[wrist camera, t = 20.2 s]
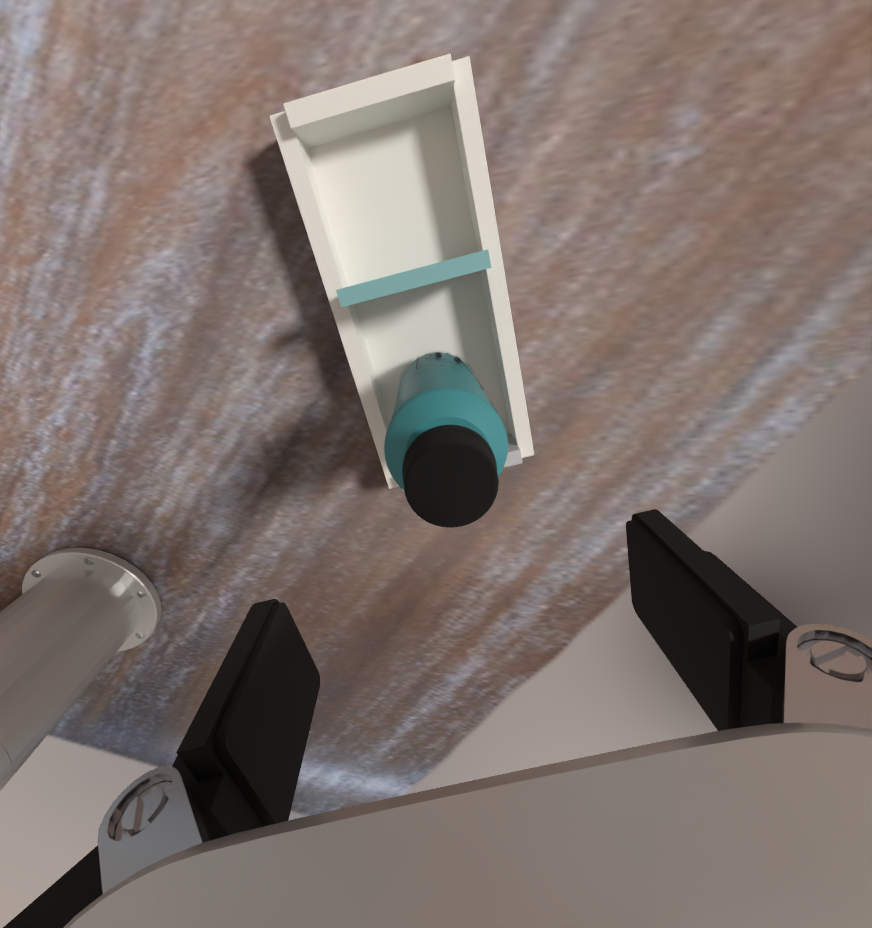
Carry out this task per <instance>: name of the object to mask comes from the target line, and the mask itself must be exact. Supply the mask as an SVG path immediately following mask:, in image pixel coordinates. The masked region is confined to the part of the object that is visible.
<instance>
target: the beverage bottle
mask: <svg viewBox="0 0 872 928" xmlns="http://www.w3.org/2000/svg"><path fill="white" fill-rule="evenodd" d="M463 361H464V359H463ZM463 361H462V360H461V358H459V357H457V355H456V357H455V355H454V356H453V355H451V354H449V353H448V352H447V353H443V352H442V351H440V352H439V351H437V352H435V351H434V353H429V352H428V354H426V353H425V355H423V356H421V357H419V358H417V359H416V360H414V361H413V362H412V363H410V365H409V366H408V367H406V369H405V368H404V369H405V372H404V373H403V375H402V378H401V381H400V385H399V389H398V394H397V398H396V404H395V408H394V411H393V415H392V419H391V421H390V424H389V426H388V429H387V432H386V436H385V442H384V453H385V460H386V464H387V467H388V470H389V472H390V474H391V476H392V477H393V479H394V480H395V482H396V483H397V484H398V485H399V486H400V487H401V488H402V489H403V490H404V491H405V495H406V498H407V501H408V503H409V504H410V506H411V508H412V509H413V510H414V512H415V513H416V514H417V515H418V516H420V517H421V518H422V519H424V520H425V521H427V522H429V523H431V524H434V525H437V526H441V527H460V526H464V525H467V524H470V523H472V522H474V521H476V520H478V519H479V518H481V517H482V516H483V515H484V514H485V513H486V512H487V511H488V510H489V509H490V507H491V506H492V504H493V502H494V500H495V498H496V495H497V491H498V482H499V480H498V477H499V476H500V474H501V472H502V470H503V468H504V465H505V462H506V458H507V453H508V438H507V433H506V429H505V427H504V424H503V422H502V420H501V418H500V416H499V415H498V412H497V411H496V409H494V408H496V407H494V408H493V407H492V405H491V404H490V402H489V400H488V398H487V397H486V395H485V393H484V392H483V389H484V390H485V388H483V387H480V386H481V385H482V384H481V385H479V384H480V382H479V383H478V382H477V381H479V380H476V378H475V377H474V375H473V373H472V372H471V370H472V369H471V370H470V369H469V367H470V365H469V364H468V363H466V362H465V363H466V364H467V365H468V366H469V367H468V366H467V365H466V364H465V363H464V362H463ZM406 366H407V365H406ZM470 368H471V367H470ZM472 371H473V370H472ZM475 375H476V374H475ZM400 377H401V376H400ZM477 379H478V378H477ZM398 384H399V383H398ZM397 388H398V387H397ZM487 394H488V393H487ZM491 403H492V404H493V402H491Z"/></svg>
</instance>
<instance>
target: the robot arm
mask: <svg viewBox="0 0 872 928" xmlns="http://www.w3.org/2000/svg"><path fill="white" fill-rule="evenodd" d="M626 533H627V545H628V558H629V570H630V583H631V595H632V603H633V607H634V609H635V612H636V614H637V615H638V617H639V618H640V620H641V621H642V622H643V624H644V625H645V627H646V628H647V630H648V631H649V633H650V634H651V635H652V637H653V638H654V640H655V641H656V643H657V644H658V645H659V647H660V648H661V650H662V651H663V653H664V654H665V655H666V657H667V658H668V660H669V661H670V663H671V664H672V666H673V667H674V668H675V670H676V671H677V672H678V674H679V676H680V677H681V678H682V680H683V681H684V683H685V684H686V686H687V687H688V688H689V690H690V691H691V693H692V694H693V696H694V697H695V698H696V700H697V701H698V703H699V704H700V706H701V707H702V709H703V710H704V711H705V713H706V714H707V716H708V717H709V719H710V720H711V721H712V723H713V724H714V726H715V727H716V728H717V730H718V731H717V732H711V733H705V734H700V735H695V736H689V737H684V738H679V739H673V740H668V741H662V742H657V743H652V744H647V745H642V746H637V747H632V748H627V749H623V750H618V751H613V752H608V753H603V754H599V755H593V756H589V757H584V758H579V759H574V760H569V761H565V762H559V763H555V764H550V765H545V766H540V767H535V768H530V769H525V770H521V771H516V772H511V773H507V774H502V775H497V776H492V777H488V778H483V779H479V780H473V781H469V782H464V783H459V784H455V785H450V786H445V787H440V788H436V789H431V790H427V791H422V792H417V793H412V794H407V795H403V796H398V797H394V798H389V799H384V800H380V801H375V802H371V803H366V804H362V805H357V806H352V807H348V808H343V809H339V810H334V811H329V812H325V813H320V814H316V815H311V816H306V817H302V818H298V819H294V820H289V821H288V819H289V815H290V811H291V806H292V802H293V798H294V794H295V789H296V785H297V781H298V777H299V772H300V768H301V764H302V760H303V755H304V751H305V747H306V743H307V738H308V734H309V730H310V726H311V721H312V717H313V713H314V709H315V704H316V700H317V696H318V692H319V687H320V676H319V672H318V670H317V668H316V666H315V664H314V661H313V659H312V657H311V655H310V653H309V651H308V649H307V647H306V645H305V643H304V641H303V639H302V637H301V635H300V632H299V630H298V628H297V626H296V624H295V622H294V620H293V618H292V616H291V614H290V612H289V610H288V608H287V606H286V604H285V603H280V602H279V601H278V600H277V599H272V600H267V601H263V602H259V603H255V604H253V605H252V607H251V608H250V610H249V612H248V614H247V616H246V618H245V620H244V622H243V624H242V626H241V628H240V630H239V632H238V634H237V636H236V638H235V640H234V641H233V643H232V645H231V647H230V649H229V651H228V653H227V655H226V657H225V659H224V661H223V663H222V665H221V667H220V669H219V671H218V673H217V675H216V677H215V678H214V680H213V682H212V684H211V686H210V688H209V690H208V692H207V694H206V696H205V698H204V700H203V702H202V704H201V706H200V708H199V710H198V712H197V714H196V716H195V717H194V719H193V721H192V723H191V725H190V727H189V729H188V731H187V733H186V735H185V737H184V739H183V741H182V743H181V745H180V747H179V749H178V751H177V754H178V756H177V758H176V760H175V762H174V764H173V766H172V767H171V766H164V767H158V768H156V769H154V770H151V771H149V772H147V773H145V774H144V775H142V776H141V777H140V778H138V779H136V780H135V781H134V782H133V783H131V784H130V785H129V786H128V787H127V788H126V789H125V790H124V791H123V792H122V793H121V794H120V795H119V796H118V797H117V799H116V800H115V801H114V802H113V803H112V805H111V806H110V808H109V810H108V811H107V813H106V814H105V816H104V818H103V820H102V823H101V825H100V828H99V833H98V846H97V847H95V848H94V849H93V850H92V851H91V852H90V853H89V854H87V855H86V856H85V857H84V858H83V859H82V860H80V861H79V862H78V863H77V864H76V865H75V866H74V867H72V868H71V869H70V870H69V871H68V872H67V873H66V874H64V875H63V876H62V877H61V878H60V879H59V880H58V881H56V882H55V883H54V884H53V885H52V886H51V887H49V888H48V889H47V890H46V891H45V892H44V893H43V894H41V895H40V896H39V897H38V898H37V899H36V900H34V901H33V902H32V903H31V904H30V905H29V906H28V907H27V908H25V909H24V910H23V911H22V912H21V913H20V914H18V915H17V916H16V917H15V918H14V919H13V920H11V921H10V922H9V923H8V924H7V925H6V926H5V927H3V928H872V641H871V640H870V639H868V638H866V637H864V636H862V635H860V634H858V633H856V632H853V631H851V630H847V629H844V628H841V627H837V626H831V625H824V624H810V625H809V624H808V625H804V626H800V627H797V626H796V625H795V624H793V623H792V622H791V621H790V620H789V619H788V618H786V617H785V616H784V615H783V614H782V613H781V612H780V611H778V610H777V609H776V608H775V607H774V606H773V605H772V604H770V603H769V602H768V601H767V600H766V599H765V598H763V597H762V596H761V595H760V594H759V593H758V592H756V591H755V590H754V589H753V588H752V587H751V586H750V585H749V584H747V583H746V582H745V581H744V580H743V579H742V578H740V577H739V576H738V575H737V574H736V573H735V572H734V571H732V570H731V569H730V568H729V567H727V565H726V564H724V563H723V562H722V561H721V560H720V559H718V558H717V557H716V556H715V555H714V554H712V553H711V552H707V551H703V550H702V549H701V548H700V547H699V546H698V545H696V544H695V543H694V542H693V541H692V540H691V539H690V538H689V537H687V536H686V535H685V534H684V533H683V532H682V531H681V530H680V529H678V528H677V527H676V526H675V525H674V524H673V523H672V522H671V521H669V520H668V519H667V518H666V517H665V516H664V515H663V514H662V513H660V512H659V511H658V510H656V509H654V510H649V511H645V512H641V513H637V514H633V515H632V520H631V521H628V522H627V523H626ZM161 613H162V610H161V602H160V598H159V595H158V593H157V591H156V589H155V588H154V586H153V584H152V583H151V582H150V581H149V579H148V578H147V577H146V576H145V575H144V574H143V573H142V572H141V571H140V570H139V569H137V568H136V567H135V566H133V565H132V564H130V563H129V562H127V561H126V560H124V559H122V558H119V557H117V556H115V555H113V554H110V553H107V552H104V551H101V550H96V549H90V548H66V549H60V550H57V551H54V552H51V553H49V554H47V555H46V556H44V557H43V558H41V559H40V560H38V561H37V562H36V563H35V564H33V565H32V566H31V567H30V568H29V570H28V571H27V572H26V574H25V576H24V579H23V582H22V595H21V596H20V597H19V598H17V599H16V600H15V601H13V602H12V603H11V604H10V605H8V606H7V607H6V608H4V609H3V610H2V611H1V612H0V791H1V790H2V789H3V787H4V786H5V785H6V784H7V782H8V781H9V780H10V779H11V778H12V776H13V775H14V774H15V773H16V772H17V771H18V769H19V768H20V767H21V766H22V765H23V764H24V762H25V761H26V760H27V759H28V758H29V756H30V755H31V754H32V753H33V752H34V750H35V749H36V748H37V747H38V746H39V744H40V743H41V742H42V741H43V739H44V738H45V737H46V736H47V735H48V734H49V732H50V731H51V730H52V729H53V728H54V726H55V725H56V724H57V723H58V722H59V720H60V719H61V718H62V717H63V716H64V714H65V713H66V712H67V711H68V710H69V708H70V707H71V706H72V705H73V704H74V702H75V701H76V700H77V699H78V698H79V696H80V695H81V694H82V693H83V692H84V690H85V689H86V688H87V687H88V686H89V684H90V683H91V682H92V681H93V680H94V678H95V677H96V676H97V675H98V674H99V672H100V671H101V670H102V669H103V668H104V666H105V665H106V664H107V663H108V661H109V660H110V659H111V658H112V657H113V655H114V654H115V653H116V652H119V651H125V650H128V649H131V648H134V647H136V646H138V645H140V644H142V643H143V642H144V641H145V640H147V639H148V638H149V637H150V635H151V634H152V633H153V632H154V630H155V629H156V628H157V626H158V624H159V622H160V618H161Z"/></svg>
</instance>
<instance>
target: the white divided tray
mask: <svg viewBox="0 0 872 928" xmlns="http://www.w3.org/2000/svg"><path fill="white" fill-rule="evenodd" d="M284 107H285V111H284V112H281V113H277V114H274V115H271V116H270V119H271V122H272V125H273V128H274V131H275V134H276V138H277V141H278V144H279V147H280V150H281V153H282V156H283V159H284V162H285V166H286V169H287V172H288V175H289V178H290V181H291V184H292V187H293V191H294V194H295V197H296V200H297V203H298V206H299V209H300V212H301V215H302V219H303V222H304V225H305V228H306V231H307V234H308V237H309V240H310V243H311V247H312V250H313V253H314V256H315V259H316V262H317V265H318V268H319V272H320V275H321V278H322V281H323V284H324V287H325V290H326V293H327V296H328V300H329V303H330V306H331V309H332V312H333V315H334V318H335V321H336V324H337V328H338V331H339V334H340V337H341V340H342V343H343V346H344V349H345V352H346V356H347V359H348V362H349V365H350V368H351V371H352V374H353V377H354V381H355V384H356V387H357V390H358V393H359V396H360V399H361V402H362V405H363V409H364V412H365V415H366V418H367V421H368V424H369V427H370V430H371V433H372V437H373V440H374V443H375V446H376V449H377V452H378V455H379V458H380V462H381V465H382V468H383V471H384V474H385V477H386V480H387V483H388V486H389V489H391V488H395V487H400V486H399V485H398V484H397V483H396V482H395V480H394V479H393V477H392V476H391V474H390V472H389V470H388V467H387V464H386V460H385V453H384V442H385V436H386V432H387V429H388V426H389V424H390V421H391V419H392V415H393V411H394V408H395V404H396V398H397V394H398V389H399V385H400V381H401V378H402V375H403V373H404V372H405V369H406V367H408V366H409V365H410V363H412V362H413V361H414V360H416V359H417V358H419V357H421V356H423V355H425V353H426V354H428V352H429V353H434V351H435V352H437V351H439V352H440V351H442V352H443V353H447V352H448V353H449V354H451V355H453V356H454V355H455V357H456V355H457V357H459V358H461V360H462V361H463V359H464V361H463V362H464V363H465V362H466V363H468V364H469V365H470V367H471V368H470V367H469V366H468V365H467V364H466V363H465V364H466V365H467V366H468V367H469V369H470V370H471V369H472V370H473V371H472V370H471V372H472V373H473V375H474V377H475V378H476V380H479V381H477V382H478V383H479V382H480V384H479V385H481V384H482V385H481V386H480V387H483V388H485V390H484V389H483V392H484V393H485V395H486V397H487V398H488V400H489V402H490V404H491V405H492V407H493V408H494V407H496V408H494V409H496V411H497V412H498V415H499V416H500V418H501V420H502V422H503V424H504V427H505V429H506V433H507V438H508V453H507V458H506V462H505V465H504V467H507V466H512V465H516V464H520V463H523V462H522V458H523V457H528V456H532V455H534V450H533V444H532V438H531V432H530V426H529V419H528V413H527V407H526V401H525V395H524V389H523V383H522V377H521V370H520V364H519V358H518V352H517V346H516V340H515V334H514V327H513V321H512V315H511V309H510V303H509V297H508V291H507V285H506V278H505V272H504V266H503V260H502V254H501V248H500V242H499V235H498V229H497V223H496V217H495V211H494V205H493V199H492V193H491V186H490V180H489V174H488V168H487V162H486V156H485V150H484V143H483V137H482V131H481V125H480V119H479V113H478V107H477V101H476V94H475V88H474V82H473V76H472V70H471V64H470V58H469V56H468V57H465V58H462V59H458V60H455V61H452V59H451V54H447V55H444V56H440V57H437V58H434V59H430V60H427V61H424V62H420V63H417V64H414V65H410V66H407V67H404V68H400V69H397V70H394V71H390V72H387V73H384V74H380V75H377V76H374V77H370V78H367V79H364V80H360V81H357V82H354V83H350V84H347V85H344V86H340V87H337V88H334V89H330V90H327V91H324V92H320V93H317V94H314V95H310V96H307V97H304V98H300V99H297V100H294V101H291V102H287V103H284ZM487 249H488V251H489V257H490V263H491V268H489V269H485V270H481V271H477V272H473V273H470V274H466V275H462V276H458V277H455V278H451V279H447V280H443V281H439V282H436V283H432V284H428V285H424V286H421V287H417V288H413V289H409V290H406V291H402V292H398V293H394V294H390V295H387V296H383V297H379V298H375V299H372V300H368V301H364V302H360V303H357V304H353V305H349V306H345V307H341V305H340V302H339V299H338V295H337V292H336V290H338V289H342V288H345V287H349V286H353V285H356V284H360V283H364V282H368V281H371V280H375V279H379V278H383V277H386V276H390V275H394V274H397V273H401V272H405V271H409V270H412V269H416V268H420V267H424V266H427V265H431V264H435V263H438V262H442V261H446V260H450V259H453V258H457V257H461V256H465V255H468V254H472V253H476V252H480V251H483V250H487ZM406 365H407V366H406ZM404 368H405V369H404ZM475 374H476V375H475ZM400 376H401V377H400ZM477 378H478V379H477ZM398 383H399V384H398ZM397 387H398V388H397ZM487 393H488V394H487ZM491 402H493V404H492V403H491ZM402 491H404V490H403V489H402Z"/></svg>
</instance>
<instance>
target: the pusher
mask: <svg viewBox="0 0 872 928" xmlns="http://www.w3.org/2000/svg"><path fill="white" fill-rule="evenodd" d="M489 268H491V263H490V257H489V251H488V249H487V250H483V251H480V252H476V253H472V254H468V255H465V256H461V257H457V258H453V259H450V260H446V261H442V262H438V263H435V264H431V265H427V266H424V267H420V268H416V269H412V270H409V271H405V272H401V273H397V274H394V275H390V276H386V277H383V278H379V279H375V280H371V281H368V282H364V283H360V284H356V285H353V286H349V287H345V288H342V289H338V290H336V292H337V295H338V299H339V302H340V305H341V307H345V306H349V305H353V304H357V303H360V302H364V301H368V300H372V299H375V298H379V297H383V296H387V295H390V294H394V293H398V292H402V291H406V290H409V289H413V288H417V287H421V286H424V285H428V284H432V283H436V282H439V281H443V280H447V279H451V278H455V277H458V276H462V275H466V274H470V273H473V272H477V271H481V270H485V269H489Z"/></svg>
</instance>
